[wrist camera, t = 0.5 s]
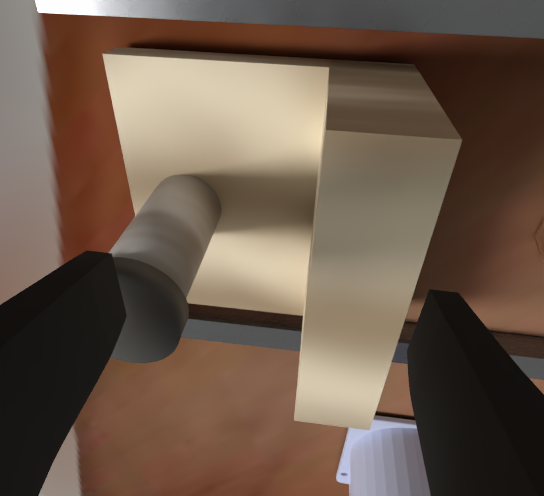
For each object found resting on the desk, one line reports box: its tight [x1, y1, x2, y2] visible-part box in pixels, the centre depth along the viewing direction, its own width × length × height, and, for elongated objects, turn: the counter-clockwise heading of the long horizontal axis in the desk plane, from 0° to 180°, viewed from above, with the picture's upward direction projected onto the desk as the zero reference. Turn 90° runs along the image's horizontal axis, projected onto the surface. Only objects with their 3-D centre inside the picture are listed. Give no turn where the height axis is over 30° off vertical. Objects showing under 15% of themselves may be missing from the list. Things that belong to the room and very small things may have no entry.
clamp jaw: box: [103, 47, 462, 430], centre depth 15 cm, size 12×11×8 cm
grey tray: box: [35, 0, 544, 380], centre depth 17 cm, size 18×28×4 cm, turn 89°
